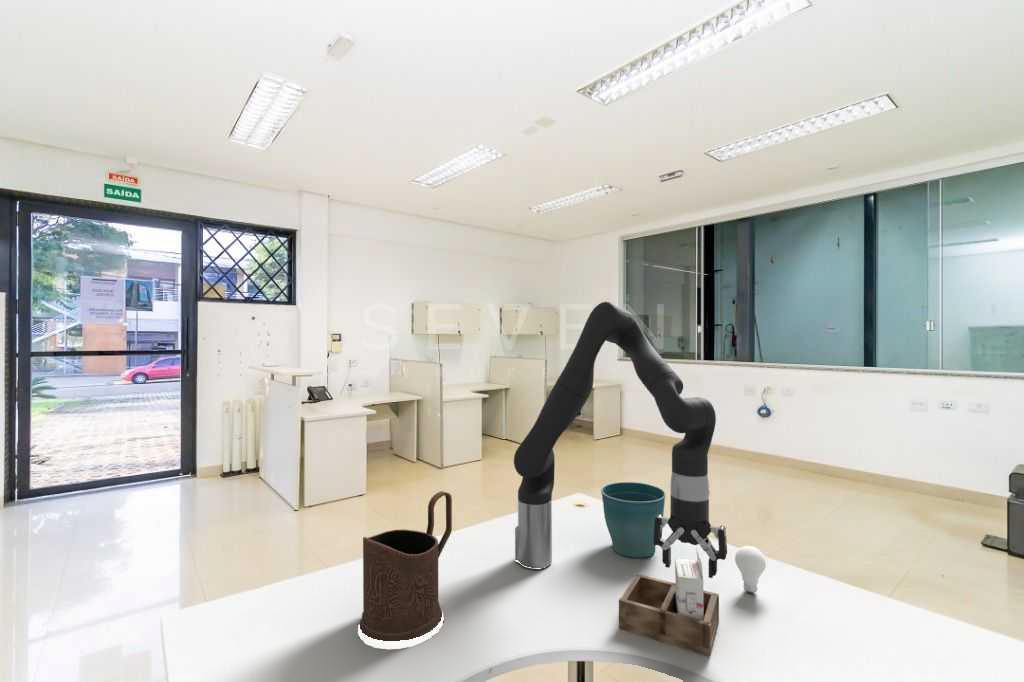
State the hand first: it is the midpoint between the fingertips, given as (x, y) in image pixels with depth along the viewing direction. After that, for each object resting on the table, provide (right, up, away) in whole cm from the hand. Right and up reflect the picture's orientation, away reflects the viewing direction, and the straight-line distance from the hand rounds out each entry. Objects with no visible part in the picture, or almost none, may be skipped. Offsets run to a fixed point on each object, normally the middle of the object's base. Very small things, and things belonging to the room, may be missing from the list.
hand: (689, 571), depth 99 cm
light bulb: (+20, -13, +15) cm, 28 cm away
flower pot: (-2, -13, +38) cm, 40 cm away
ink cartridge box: (0, -11, 0) cm, 11 cm away
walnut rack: (-3, -13, +2) cm, 13 cm away
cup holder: (-59, -13, +6) cm, 61 cm away
